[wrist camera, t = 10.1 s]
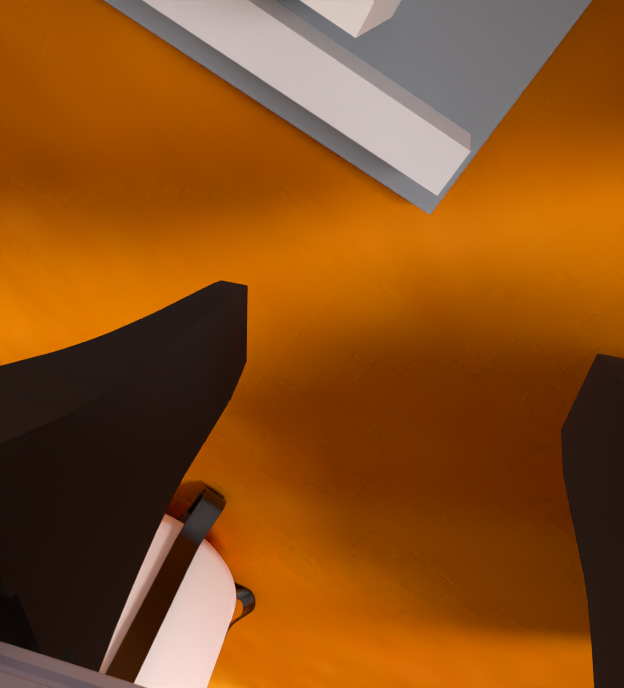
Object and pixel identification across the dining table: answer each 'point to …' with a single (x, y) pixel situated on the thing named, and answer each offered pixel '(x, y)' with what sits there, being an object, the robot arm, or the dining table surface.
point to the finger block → (355, 13)
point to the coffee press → (177, 606)
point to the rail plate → (375, 74)
